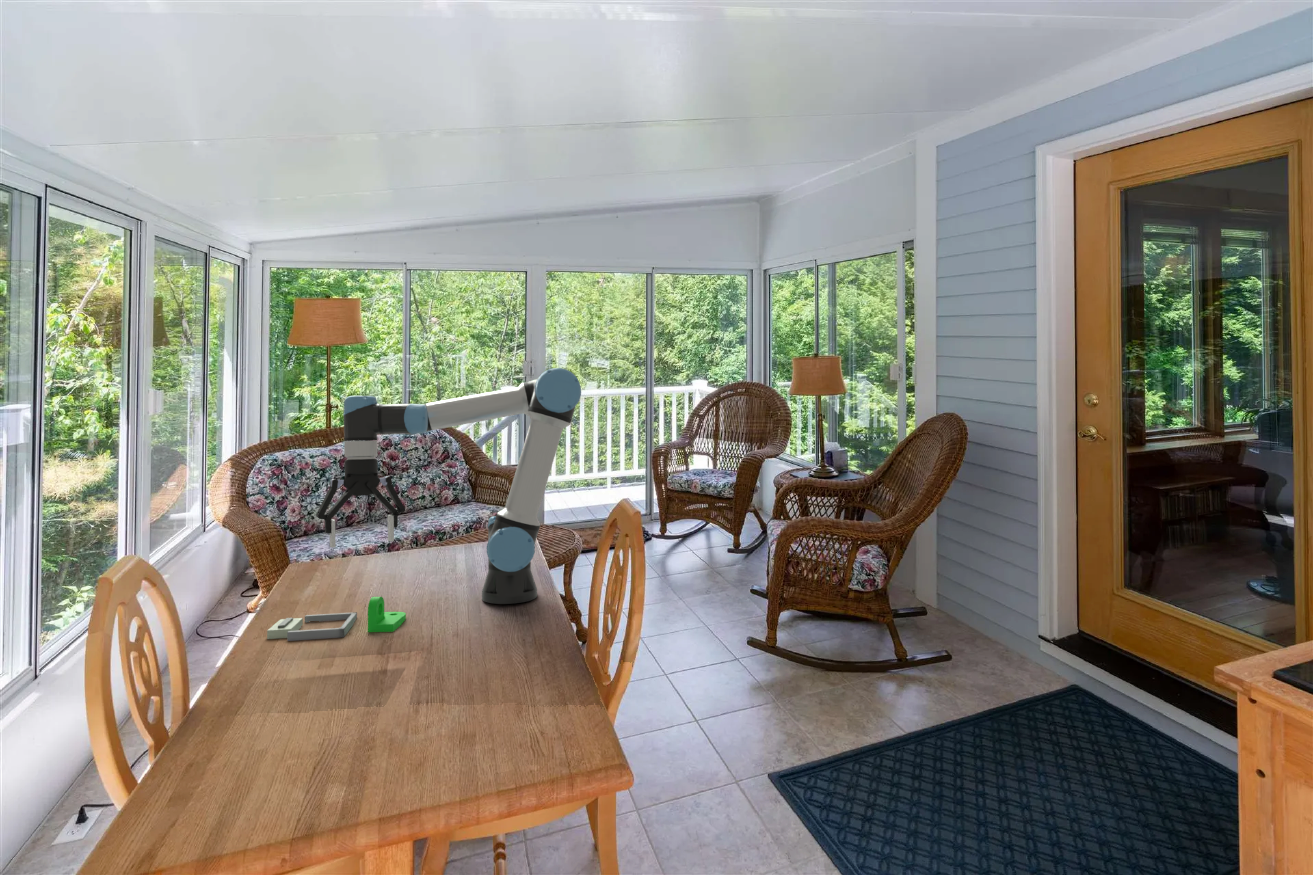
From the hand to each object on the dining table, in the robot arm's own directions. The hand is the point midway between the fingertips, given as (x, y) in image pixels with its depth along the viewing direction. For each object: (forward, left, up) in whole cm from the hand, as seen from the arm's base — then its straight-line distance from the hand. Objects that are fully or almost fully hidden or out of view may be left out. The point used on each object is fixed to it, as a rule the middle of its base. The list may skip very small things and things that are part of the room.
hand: (362, 543), depth 165 cm
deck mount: (+9, +1, -21) cm, 22 cm away
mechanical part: (-6, 0, -21) cm, 22 cm away
